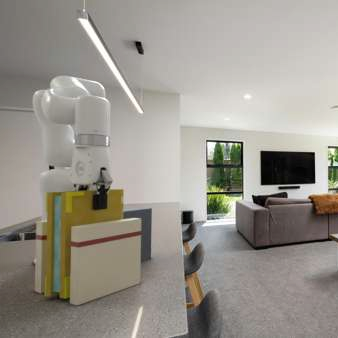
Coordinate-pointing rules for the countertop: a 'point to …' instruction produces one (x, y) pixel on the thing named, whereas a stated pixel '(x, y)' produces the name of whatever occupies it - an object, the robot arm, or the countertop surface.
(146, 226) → the grey book
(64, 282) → the book
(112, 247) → the cream panel
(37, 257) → the cream book
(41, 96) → the robot arm
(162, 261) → the countertop surface
